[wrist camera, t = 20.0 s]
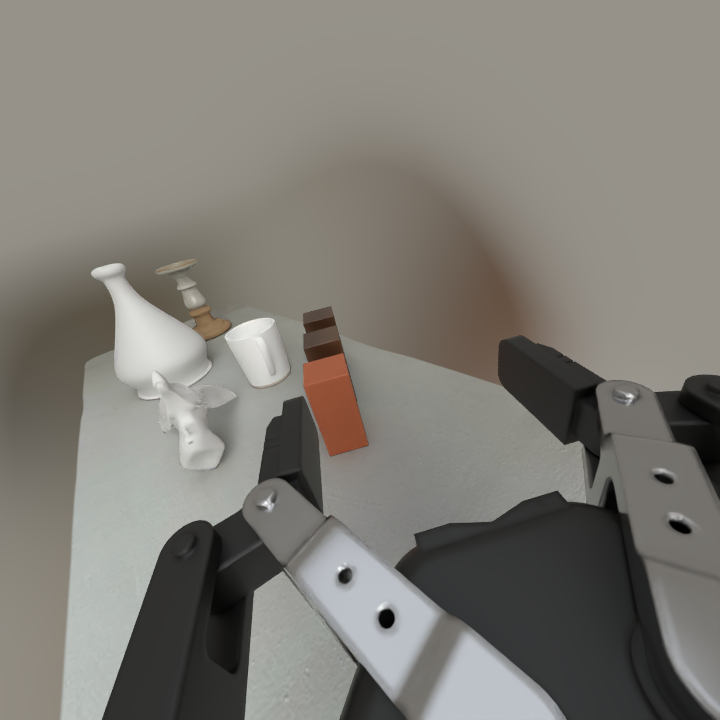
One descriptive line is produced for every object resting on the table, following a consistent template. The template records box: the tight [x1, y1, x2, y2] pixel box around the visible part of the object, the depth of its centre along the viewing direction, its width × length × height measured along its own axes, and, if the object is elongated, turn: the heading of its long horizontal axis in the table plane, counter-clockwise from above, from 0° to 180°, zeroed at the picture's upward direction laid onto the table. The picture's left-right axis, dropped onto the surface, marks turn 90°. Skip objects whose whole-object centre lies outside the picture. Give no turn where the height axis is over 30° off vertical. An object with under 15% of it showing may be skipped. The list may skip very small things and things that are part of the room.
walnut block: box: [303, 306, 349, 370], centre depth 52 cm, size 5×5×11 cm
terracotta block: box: [303, 353, 368, 456], centre depth 37 cm, size 5×5×11 cm
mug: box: [225, 318, 290, 388], centre depth 54 cm, size 11×9×10 cm
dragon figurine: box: [152, 371, 238, 470], centre depth 40 cm, size 12×18×13 cm
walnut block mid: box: [303, 325, 357, 401], centre depth 44 cm, size 5×5×11 cm
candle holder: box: [155, 259, 231, 340], centre depth 83 cm, size 12×12×20 cm
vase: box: [91, 263, 212, 400], centre depth 60 cm, size 17×17×25 cm
